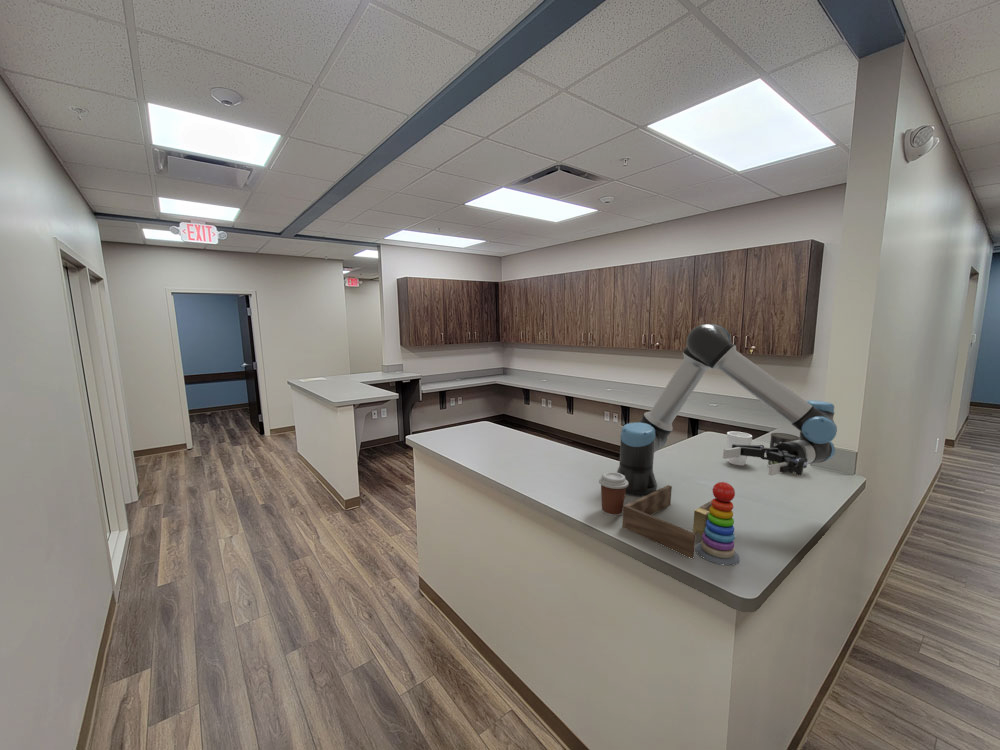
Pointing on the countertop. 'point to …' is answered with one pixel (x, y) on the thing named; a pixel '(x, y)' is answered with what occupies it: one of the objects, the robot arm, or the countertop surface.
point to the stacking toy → (720, 523)
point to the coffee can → (780, 441)
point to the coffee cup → (613, 493)
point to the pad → (716, 559)
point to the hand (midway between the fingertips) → (746, 461)
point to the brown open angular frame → (659, 522)
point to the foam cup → (738, 439)
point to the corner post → (699, 520)
